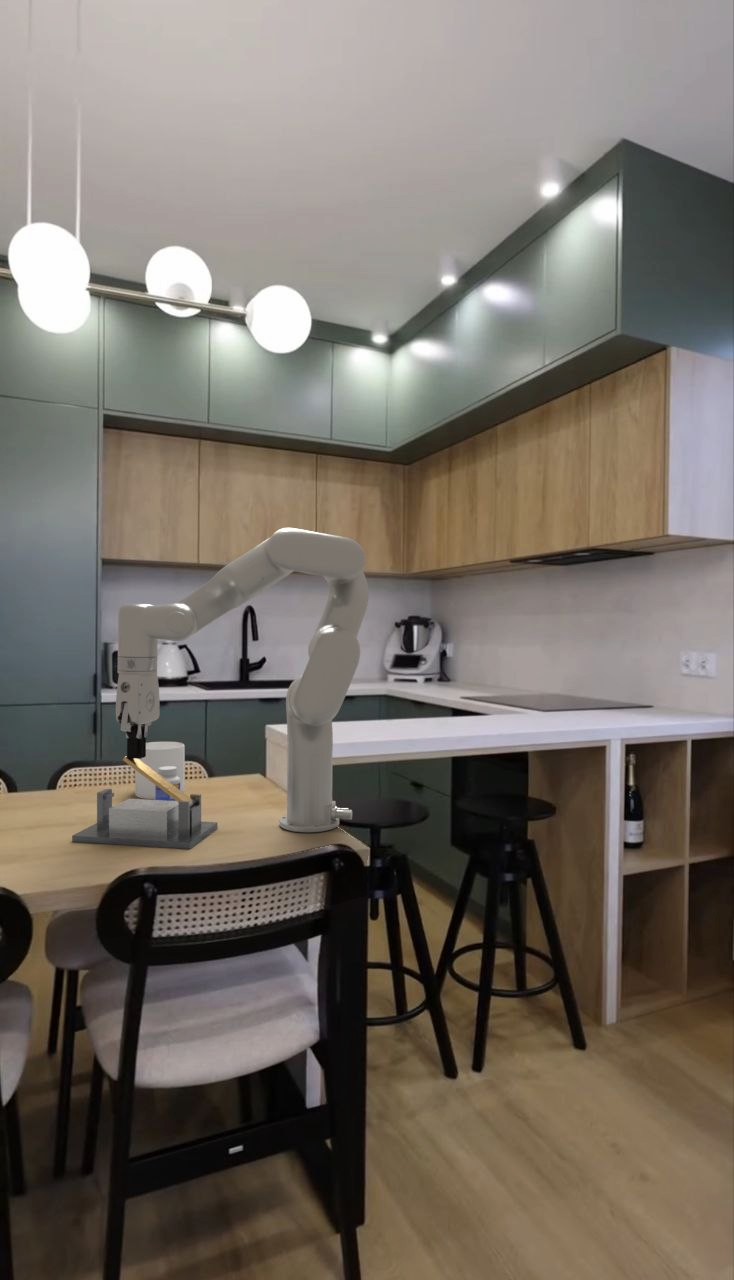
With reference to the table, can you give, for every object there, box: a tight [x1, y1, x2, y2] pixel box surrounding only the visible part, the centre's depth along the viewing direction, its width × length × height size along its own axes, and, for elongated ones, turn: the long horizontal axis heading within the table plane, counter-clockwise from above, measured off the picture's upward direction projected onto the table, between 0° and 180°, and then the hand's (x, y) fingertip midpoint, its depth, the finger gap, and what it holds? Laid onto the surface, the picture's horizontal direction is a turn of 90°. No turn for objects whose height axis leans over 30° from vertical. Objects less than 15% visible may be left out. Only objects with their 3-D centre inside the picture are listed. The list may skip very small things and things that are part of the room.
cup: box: [134, 741, 186, 800], centre depth 178 cm, size 12×12×12 cm
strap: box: [122, 755, 196, 807], centre depth 142 cm, size 16×4×1 cm
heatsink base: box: [71, 788, 219, 850], centre depth 143 cm, size 24×14×8 cm, turn 81°
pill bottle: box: [154, 766, 180, 801], centre depth 161 cm, size 5×5×10 cm
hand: (136, 757), depth 143 cm, fingers closed
